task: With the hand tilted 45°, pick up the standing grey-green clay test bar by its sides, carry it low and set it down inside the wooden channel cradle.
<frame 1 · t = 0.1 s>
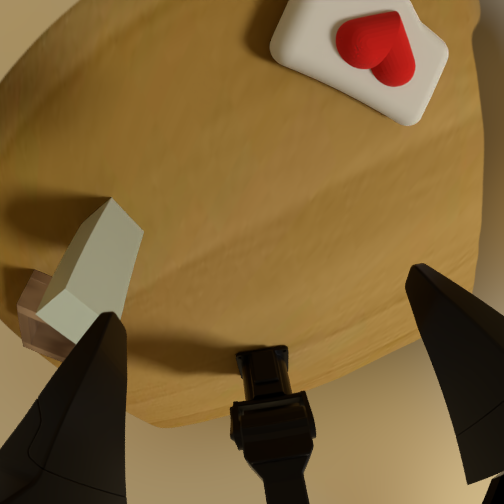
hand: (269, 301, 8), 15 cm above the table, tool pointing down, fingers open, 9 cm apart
clay bar: (111, 227, 23), on the table
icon: (363, 36, 16), on the table
wooden channel cradle: (72, 309, 28), on the table
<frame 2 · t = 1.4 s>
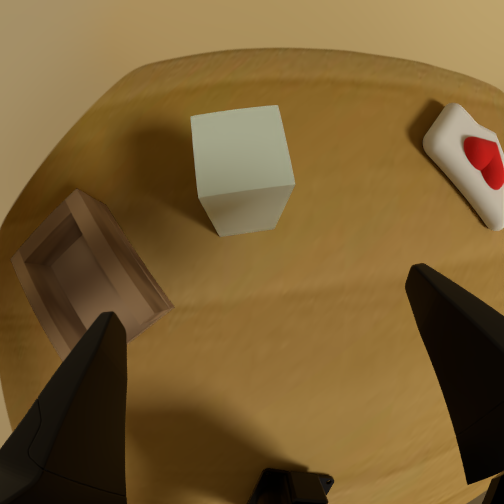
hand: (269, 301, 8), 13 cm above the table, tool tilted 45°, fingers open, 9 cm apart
clay bar: (243, 206, 22), on the table
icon: (470, 164, 24), on the table
wooden channel cradle: (100, 284, 21), on the table
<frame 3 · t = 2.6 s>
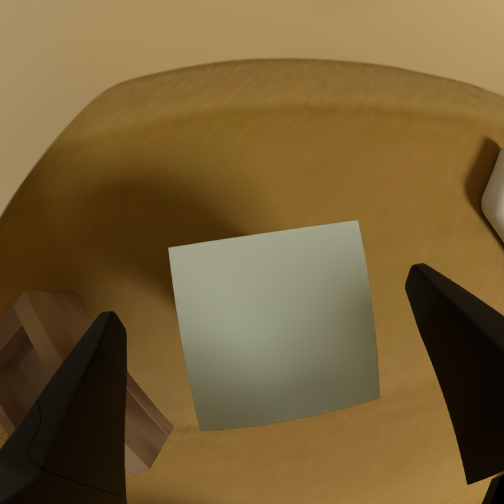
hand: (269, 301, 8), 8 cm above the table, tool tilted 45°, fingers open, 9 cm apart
clay bar: (260, 304, 16), on the table
wooden channel cradle: (79, 390, 15), on the table
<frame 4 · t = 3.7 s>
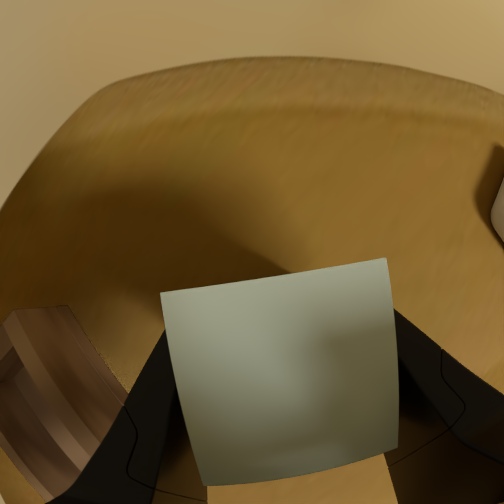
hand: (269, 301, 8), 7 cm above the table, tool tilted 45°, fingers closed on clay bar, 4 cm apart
clay bar: (263, 321, 15), on the table, touching gripper
wooden channel cradle: (76, 407, 14), on the table
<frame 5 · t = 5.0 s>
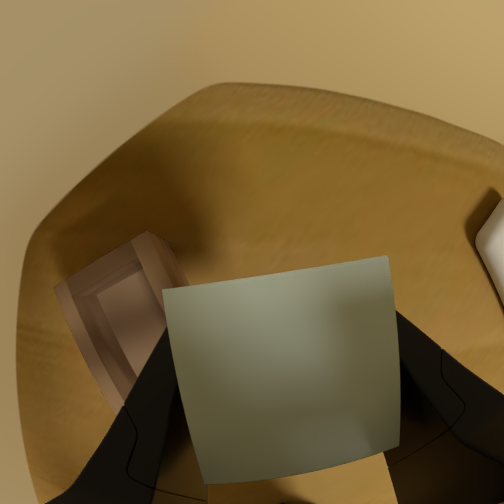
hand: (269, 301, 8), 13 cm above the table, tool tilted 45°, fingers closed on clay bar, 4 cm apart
clay bar: (264, 321, 15), point 7 cm above the table, touching gripper
wooden channel cradle: (152, 324, 21), on the table
when the fingers open (9 cm above the table, at t = 6.7 s): clay bar drops 1 cm, resting on wooden channel cradle.
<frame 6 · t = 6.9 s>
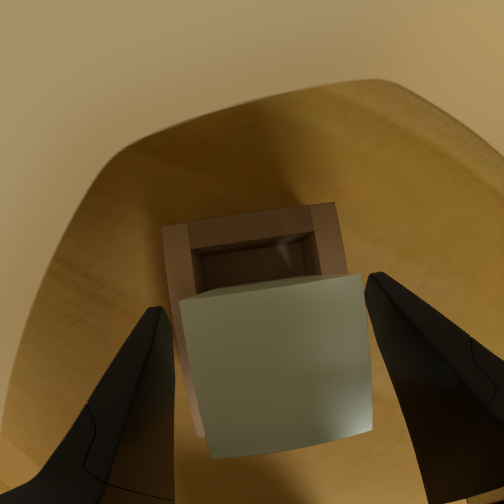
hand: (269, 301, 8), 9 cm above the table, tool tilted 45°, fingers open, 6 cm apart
clay bar: (261, 317, 16), point 1 cm above the table, touching wooden channel cradle
wooden channel cradle: (260, 316, 17), on the table
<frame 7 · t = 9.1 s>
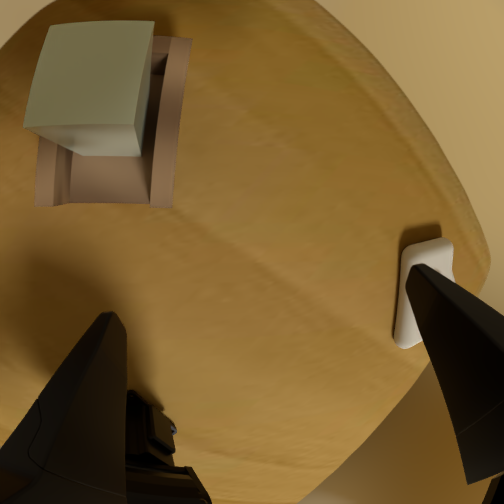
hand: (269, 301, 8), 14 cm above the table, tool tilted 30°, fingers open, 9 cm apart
clay bar: (115, 125, 16), point 1 cm above the table, touching wooden channel cradle
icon: (419, 287, 31), on the table
wooden channel cradle: (117, 129, 17), on the table
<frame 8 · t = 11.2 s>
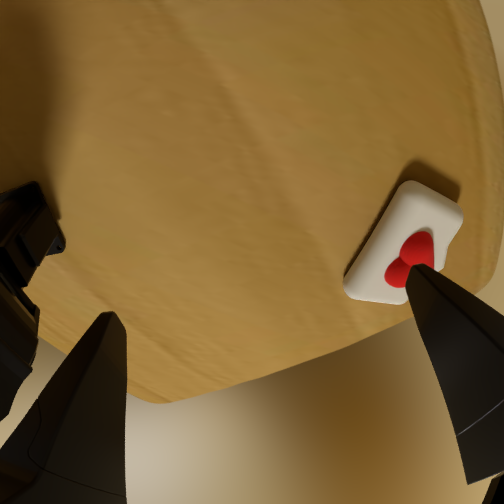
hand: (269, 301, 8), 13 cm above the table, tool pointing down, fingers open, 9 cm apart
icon: (403, 241, 26), on the table
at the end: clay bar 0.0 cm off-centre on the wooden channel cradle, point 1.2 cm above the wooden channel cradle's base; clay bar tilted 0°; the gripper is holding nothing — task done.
